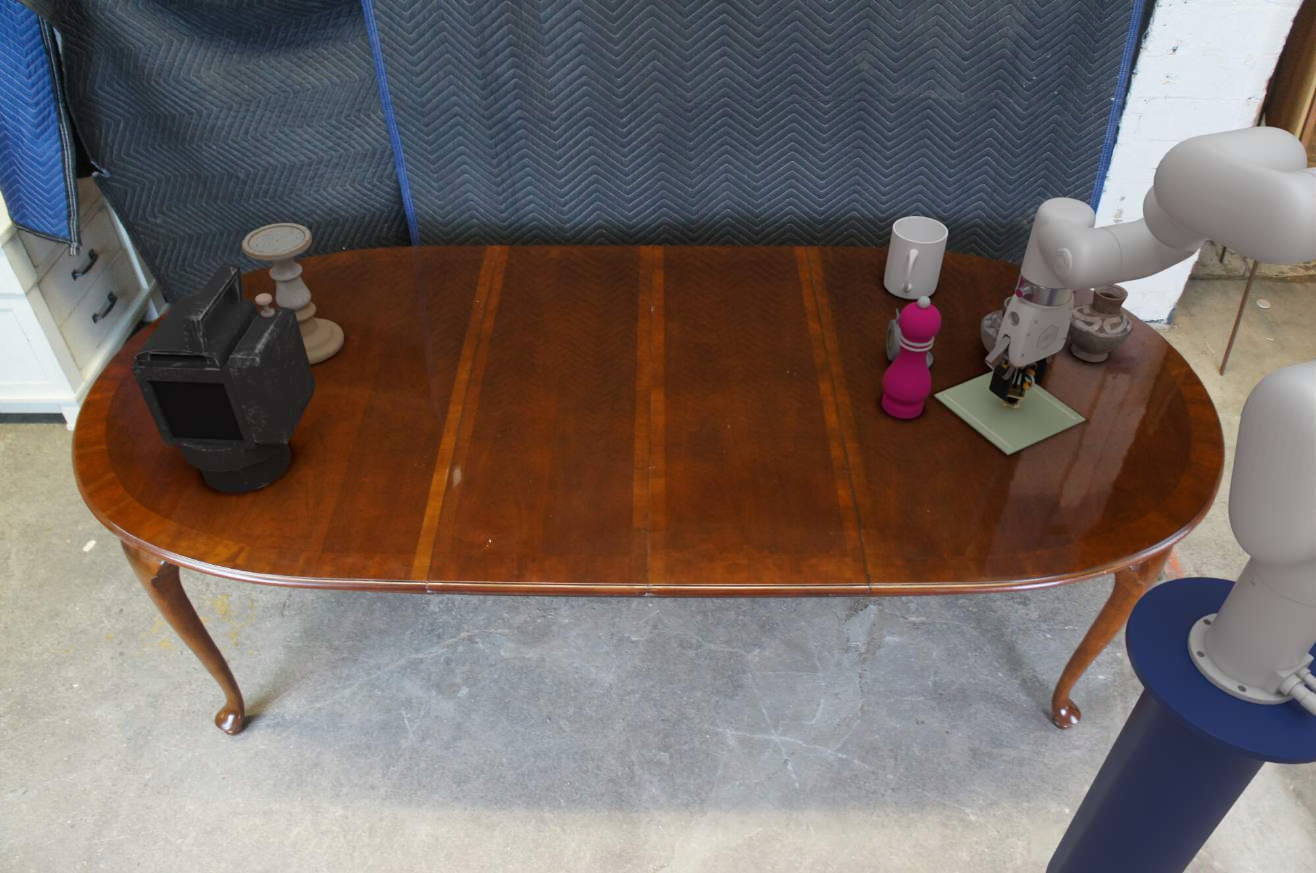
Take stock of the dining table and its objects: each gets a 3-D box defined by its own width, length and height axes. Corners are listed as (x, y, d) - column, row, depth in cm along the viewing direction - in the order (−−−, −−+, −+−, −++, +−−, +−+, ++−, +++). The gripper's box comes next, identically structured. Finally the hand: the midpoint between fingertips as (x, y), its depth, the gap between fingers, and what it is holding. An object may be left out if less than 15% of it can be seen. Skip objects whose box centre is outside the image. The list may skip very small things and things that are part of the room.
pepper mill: (874, 415, 151) (895, 305, 138) (882, 388, 156) (902, 279, 143) (922, 425, 149) (948, 315, 136) (928, 397, 154) (953, 288, 141)
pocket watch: (940, 365, 161) (952, 314, 154) (901, 382, 157) (912, 330, 151) (905, 341, 166) (915, 290, 159) (867, 356, 162) (876, 305, 156)
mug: (932, 274, 182) (944, 217, 174) (940, 310, 173) (953, 252, 165) (881, 272, 182) (890, 215, 175) (885, 307, 173) (896, 249, 166)
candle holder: (353, 324, 169) (327, 219, 156) (333, 367, 160) (304, 259, 147) (282, 324, 170) (250, 218, 156) (258, 366, 160) (222, 258, 147)
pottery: (1134, 369, 160) (1159, 306, 152) (991, 385, 156) (1009, 321, 148) (1097, 331, 168) (1119, 269, 161) (961, 345, 164) (976, 283, 157)
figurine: (989, 406, 150) (1006, 364, 145) (993, 388, 154) (1009, 347, 148) (1020, 415, 149) (1038, 374, 144) (1023, 397, 153) (1041, 356, 147)
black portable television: (217, 428, 149) (150, 254, 129) (333, 432, 148) (284, 258, 128) (174, 497, 137) (94, 318, 118) (299, 503, 137) (240, 323, 117)
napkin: (1085, 420, 150) (1085, 419, 150) (1007, 455, 144) (1008, 453, 144) (1008, 366, 160) (1009, 364, 160) (933, 396, 154) (934, 394, 154)
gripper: (1019, 316, 132) (990, 419, 144) (1109, 282, 138) (1074, 383, 150) (980, 290, 137) (954, 391, 149) (1068, 258, 143) (1037, 358, 155)
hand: (1015, 386), depth 149 cm, fingers closed on figurine, 6 cm apart
